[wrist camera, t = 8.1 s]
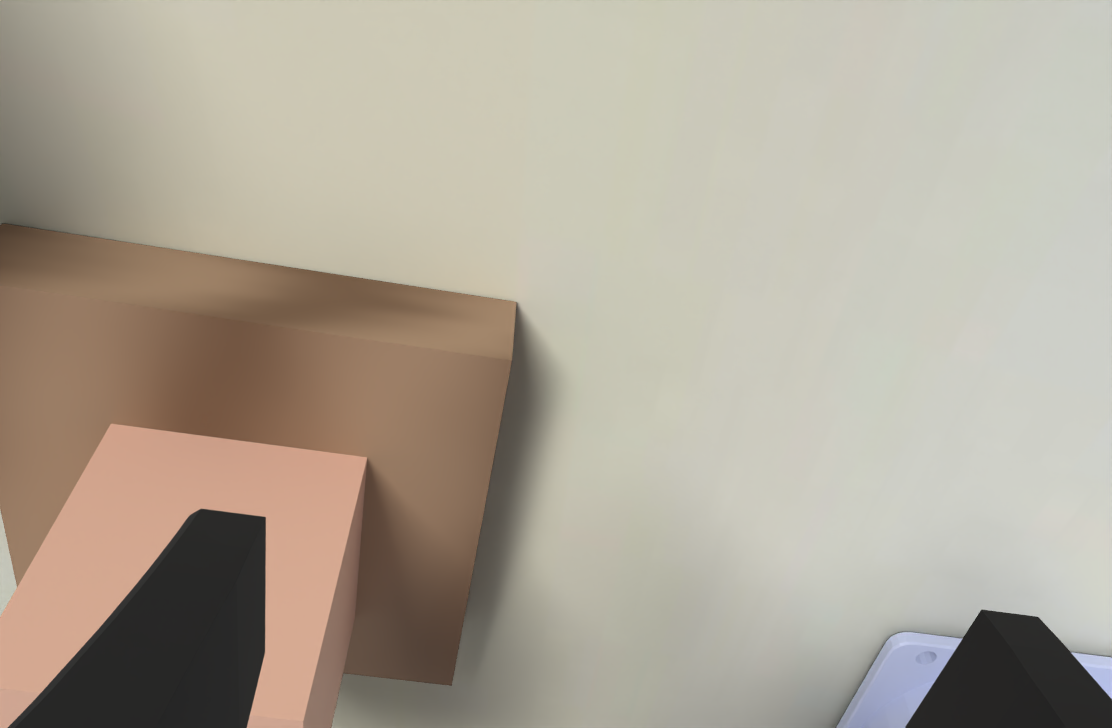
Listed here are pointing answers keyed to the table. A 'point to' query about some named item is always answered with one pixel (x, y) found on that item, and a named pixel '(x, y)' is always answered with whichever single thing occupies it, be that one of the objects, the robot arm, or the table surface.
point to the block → (150, 524)
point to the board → (264, 404)
